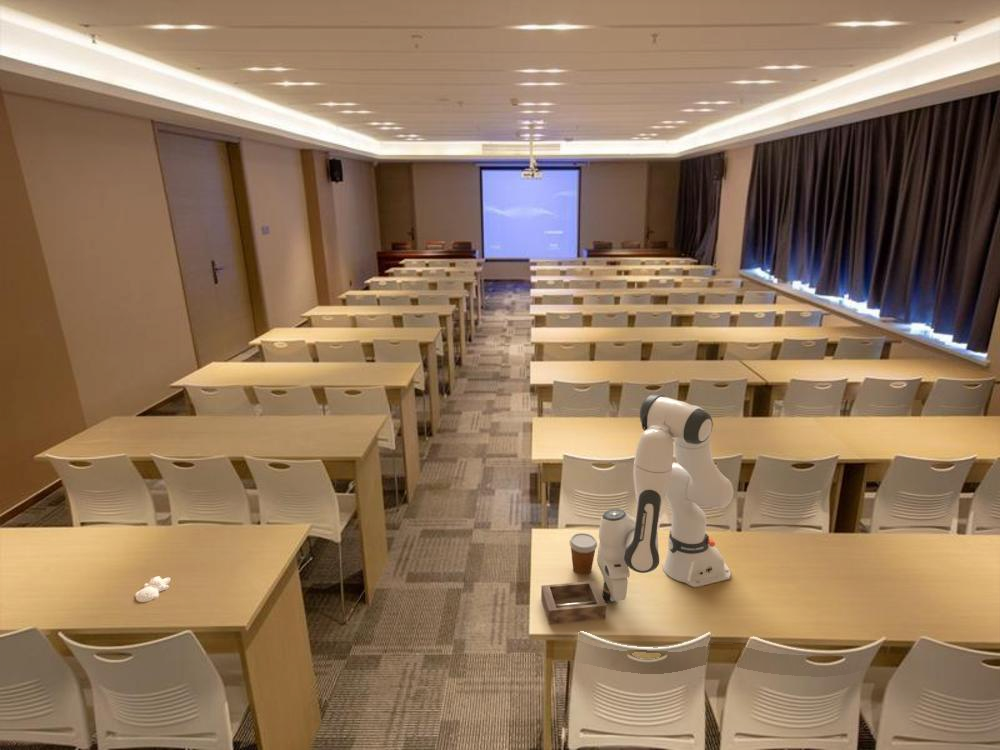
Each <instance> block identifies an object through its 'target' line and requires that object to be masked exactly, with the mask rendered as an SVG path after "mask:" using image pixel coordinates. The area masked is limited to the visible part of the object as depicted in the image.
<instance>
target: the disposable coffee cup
mask: <svg viewBox="0 0 1000 750" xmlns="http://www.w3.org/2000/svg"><path fill="white" fill-rule="evenodd" d="M568 544H569V546H570V552H571V560H572V570H573V572H574V573H575V574H576V575H579V576H587V575H589V574H591V572H592V569H593V568H592V567H593V563H594V558H595V553H596V549H597V548H598V542H597V539H596V538H595V536H593V535H591V534H590V533H585V532H578V533H576V534H574V535H572V536H571V537H570V540H569V543H568Z"/></svg>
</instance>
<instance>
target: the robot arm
mask: <svg viewBox="0 0 1000 750" xmlns="http://www.w3.org/2000/svg"><path fill="white" fill-rule="evenodd" d="M639 418H640V423H641V428H642V430H643V431H642V433H641V434H640V437H639V439H638V442H637V446H636V450H635V452H634V453H635V454H634V461H633V471H632V472H633V474H632V475H633V486H634V493H635V495H634V496H635V502H636V517H633V516H631V515H630V514H628V512H626V511H625V510H623V509H620V508H619V509H618V508H613V509H609V510H607V511H606V512H604V514H603V515H602V516H601V518H600V522H599V530H598V539H599V543H598V545H597V549H598V550H597V560H596V561H597V566H598V569H600V572H601V575H602V577H603V583H604V582H606V584H607V586H608V589H609V591H610V593H611V594H609V598H610V601H614V602H622V601H624V600H626V598H627V593H628V583H629V582H628V581H629V580H628V578H630V570H632V571H634V572H636V573H639V574H640V573H641V574H646V573H651V572H652V571H654V570H656V569H657V567H658V566H659V564H660V554H659V536H658V535H659V534H658V525H659V518H660V512H661V508H662V505H663V502H664V499H665V498H666V499H667V502H668V504H669V507H670V512H671V525H670V526H671V527H670V528H671V529H670V531H669V533H668V534H669V536H668V550H667V554H666V557H665V559H664V562H663V564H662V569H663V572H664V573H665V574H666V575H667V576H669V578H671V579H674V580H675V581H677V582H681V583H683V584H684V583H685V584H686V585H688V586H690V587H693V588H698V587H702V586H705V585H711V584H714V583H718V582H722V581H727V580H730V579H731V574H732V573H731V570H730V567H728V564H726V562H725V561H724V558H723V555H722V554H721V552H720V551H719V549H718V548H716V547H715V546H716V542H715V541H714V540H713V539H712V538H710V536H709V535H708V534H707V533H706V530H707V529H706V528H707V521H708V520H707V517H706V513H705V511H704V510H703V509H702V508H701V507H699V505H700V506H701V505H702V506H703V507H708V508H715V509H724V508H726V507H727V506H729V505H730V503H731V502H732V501H733V497H734V486H733V484H732V482H731V481H730V479H728V478H727V477H726V476H725V475H723V473H722V472H721V471H720V470H719V468H718V467H717V465H716V464H715V462H714V460H713V457H712V448H711V447H712V446H711V443H712V442H711V434H712V430H713V427H714V426H713V425H714V423H713V419H712V416H711V414H710V413H709V412H707V411H705V410H704V408H702V407H700V406H698V405H696V404H695V405H694V404H689V403H687V402H685V401H682V400H678V399H676V398H675V399H674V398H671V397H667V396H665V395H663V394H650V395H649V396H647V397H646V398H644V401H642V403H641V406H640V409H639ZM674 458H675V460H676V462H674ZM697 504H699V505H697Z"/></svg>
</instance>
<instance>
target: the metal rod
mask: <svg viewBox="0 0 1000 750" xmlns="http://www.w3.org/2000/svg"><path fill="white" fill-rule="evenodd" d="M593 604H596V602H595V601H590V600H589V601H582V602H581V601H580V602H571V603H570V602H569V603H559V604H557V603H556V604H555V605H556V608H561V607H572V606H582V605H593Z"/></svg>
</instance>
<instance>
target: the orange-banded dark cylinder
mask: <svg viewBox="0 0 1000 750" xmlns="http://www.w3.org/2000/svg"><path fill="white" fill-rule="evenodd" d="M602 585H603V586H602V597H603V599H604V601H605V603H614V602H615V601H610V598H609V594H611V593H610V591H609V589H608V586H607V584H606V582H604V581H603V584H602Z"/></svg>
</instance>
